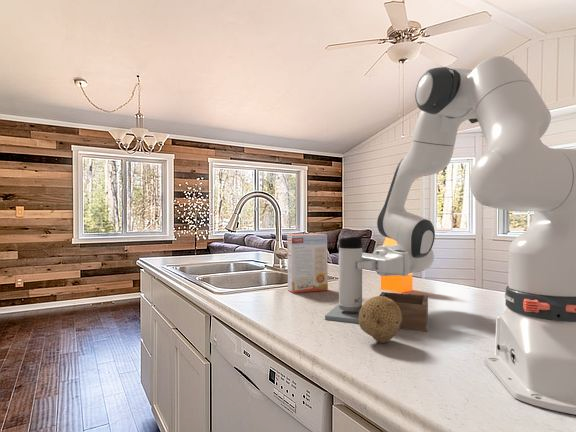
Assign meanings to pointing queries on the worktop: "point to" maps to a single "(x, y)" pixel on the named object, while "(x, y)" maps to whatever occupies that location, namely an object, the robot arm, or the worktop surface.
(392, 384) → the worktop surface
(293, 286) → the cracker box
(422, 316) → the wooden box
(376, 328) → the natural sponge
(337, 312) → the mat
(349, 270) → the travel mug
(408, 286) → the orange juice
